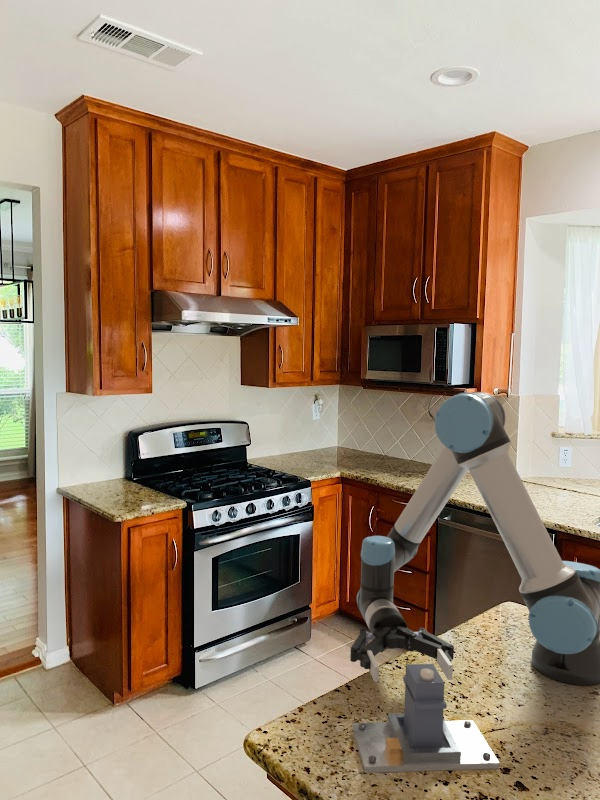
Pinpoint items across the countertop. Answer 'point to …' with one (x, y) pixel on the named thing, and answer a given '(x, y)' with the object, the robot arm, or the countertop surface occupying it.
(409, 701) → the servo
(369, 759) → the chassis
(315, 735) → the countertop surface
